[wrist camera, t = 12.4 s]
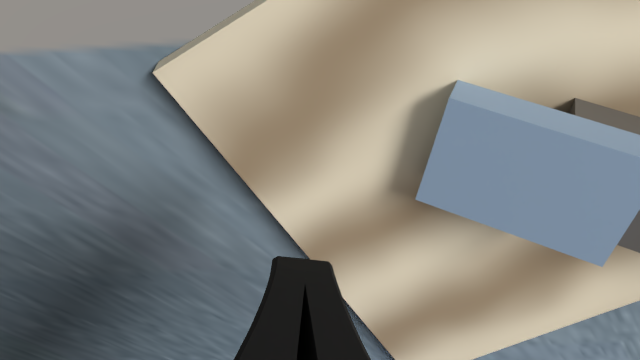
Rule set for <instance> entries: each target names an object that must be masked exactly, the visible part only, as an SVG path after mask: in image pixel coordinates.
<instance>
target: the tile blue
mask: <svg viewBox="0 0 640 360" xmlns="http://www.w3.org/2000/svg"><path fill="white" fill-rule="evenodd" d="M415 200H418V201H421V202H423V203H426V204H429V205H432V206H434V207H437V208H440V209H443V210H446V211H448V212H451V213H454V214H457V215H459V216H462V217H465V218H468V219H470V220H473V221H476V222H479V223H482V224H484V225H487V226H490V227H493V228H495V229H498V230H501V231H504V232H506V233H509V234H512V235H515V236H518V237H520V238H523V239H526V240H529V241H531V242H534V243H537V244H540V245H542V246H545V247H548V248H551V249H554V250H556V251H559V252H562V253H565V254H567V255H570V256H573V257H576V258H578V259H581V260H584V261H587V262H590V263H592V264H595V265H598V266H601V267H603V265H604V264H605V262H606V261H607V259H608V258H609V256H610V255H611V253H612V251H613V250H614V248H615V247H616V245H617V244H618V242H619V241H620V239H621V238H622V236H623V235H624V233H625V231H626V230H627V228H628V227H629V225H630V224H631V222H632V221H633V219H634V218H635V216H636V215H637V213H638V211H639V210H640V135H638V134H635V133H632V132H628V131H625V130H622V129H618V128H615V127H612V126H608V125H605V124H602V123H599V122H595V121H592V120H589V119H585V118H582V117H579V116H575V115H572V114H569V113H566V112H562V111H559V110H556V109H552V108H549V107H546V106H542V105H539V104H536V103H533V102H529V101H526V100H523V99H519V98H516V97H513V96H509V95H506V94H503V93H500V92H496V91H493V90H490V89H486V88H483V87H480V86H477V85H473V84H470V83H467V82H463V81H460V80H458V81H457V83H456V85H455V87H454V89H453V91H452V93H451V95H450V97H449V100H448V103H447V106H446V109H445V112H444V115H443V118H442V121H441V124H440V127H439V130H438V133H437V136H436V139H435V142H434V145H433V148H432V151H431V154H430V157H429V160H428V163H427V166H426V169H425V172H424V175H423V178H422V181H421V184H420V187H419V190H418V193H417V196H416V199H415Z"/></svg>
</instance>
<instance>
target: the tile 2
mask: <svg viewBox="0 0 640 360" xmlns="http://www.w3.org/2000/svg"><path fill="white" fill-rule="evenodd" d="M568 113H569V114H572V115H575V116H579V117H582V118H585V119H589V120H592V121H595V122H599V123H602V124H605V125H608V126H612V127H615V128H618V129H622V130H625V131H628V132H632V133H635V134H638V135H640V117H638V116H635V115H632V114H628V113H625V112H622V111H618V110H615V109H611V108H608V107H605V106H601V105H598V104H594V103H591V102H588V101H584V100H581V99H577V98H575V99H574V101H573V103H572V105H571V108H570V110H569V112H568ZM617 245H618V246H621V247H624V248H627V249H630V250H633V251H636V252H638V253H640V210H639V211H638V213H637V215H636V216H635V218H634V219H633V221H632V222H631V224H630V225H629V227H628V228H627V230H626V231H625V233H624V235H623V236H622V238H621V239H620V241H619V242H618V244H617Z"/></svg>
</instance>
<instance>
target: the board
mask: <svg viewBox="0 0 640 360" xmlns="http://www.w3.org/2000/svg"><path fill="white" fill-rule="evenodd" d="M153 74H154V75H155V76H156V77H157V79H158V80H159V81H160V82H161V83H162V85H163V86H164V87H165V88H166V89H167V90H168V92H169V93H170V94H171V95H172V96H173V98H174V99H175V100H176V101H177V102H178V103H179V105H180V106H181V107H182V108H183V109H184V111H185V112H186V113H187V114H188V115H189V116H190V118H191V119H192V120H193V121H194V122H195V124H196V125H197V126H198V127H199V128H200V129H201V131H202V132H203V133H204V134H205V135H206V137H207V138H208V139H209V140H210V141H211V142H212V144H213V145H214V146H215V147H216V148H217V150H218V151H219V152H220V153H221V154H222V155H223V157H224V158H225V159H226V160H227V161H228V163H229V164H230V165H231V166H232V167H233V168H234V170H235V171H236V172H237V173H238V174H239V176H240V177H241V178H242V179H243V180H244V181H245V183H246V184H247V185H248V186H249V187H250V189H251V190H252V191H253V192H254V193H255V194H256V196H257V197H258V198H259V199H260V200H261V202H262V203H263V204H264V205H265V206H266V207H267V209H268V210H269V211H270V212H271V213H272V215H273V216H274V217H275V218H276V219H277V220H278V222H279V223H280V224H281V225H282V226H283V228H284V229H285V230H286V231H287V232H288V233H289V235H290V236H291V237H292V238H293V239H294V241H295V242H296V243H297V244H298V245H299V246H300V248H301V249H302V250H303V251H304V252H305V254H306V255H307V256H308V257H309V258H310V259H311V260H320V261H329V262H330V264H331V265H332V266H333V270H334V274H335V277H336V280H337V283H338V286H339V289H340V292H341V295H342V297H343V298H344V300H345V301H346V302H347V303H348V304H349V306H350V307H351V308H352V309H353V310H354V311H355V313H356V314H357V315H358V316H359V317H360V319H361V320H362V321H363V322H364V323H365V324H366V326H367V327H368V328H369V329H370V330H371V332H372V333H373V334H374V335H375V336H376V337H377V339H378V340H379V341H380V342H381V343H382V345H383V346H384V347H385V348H386V349H387V350H388V352H389V353H390V354H391V355H392V356H393V358H394V359H395V360H472V359H475V358H477V357H480V356H483V355H486V354H489V353H492V352H494V351H497V350H500V349H503V348H506V347H509V346H511V345H514V344H517V343H520V342H523V341H526V340H528V339H531V338H534V337H537V336H540V335H543V334H545V333H548V332H551V331H554V330H557V329H560V328H562V327H565V326H568V325H571V324H574V323H577V322H579V321H582V320H585V319H588V318H591V317H594V316H596V315H599V314H602V313H605V312H608V311H611V310H613V309H616V308H619V307H622V306H625V305H628V304H630V303H633V302H636V301H639V300H640V253H638V252H636V251H633V250H630V249H627V248H624V247H621V246H618V245H616V247H615V248H614V250H613V251H612V253H611V255H610V256H609V258H608V259H607V261H606V262H605V264H604V265H603V267H601V266H598V265H595V264H592V263H590V262H587V261H584V260H581V259H578V258H576V257H573V256H570V255H567V254H565V253H562V252H559V251H556V250H554V249H551V248H548V247H545V246H542V245H540V244H537V243H534V242H531V241H529V240H526V239H523V238H520V237H518V236H515V235H512V234H509V233H506V232H504V231H501V230H498V229H495V228H493V227H490V226H487V225H484V224H482V223H479V222H476V221H473V220H470V219H468V218H465V217H462V216H459V215H457V214H454V213H451V212H448V211H446V210H443V209H440V208H437V207H434V206H432V205H429V204H426V203H423V202H421V201H418V200H415V199H416V196H417V193H418V190H419V187H420V184H421V181H422V178H423V175H424V172H425V169H426V166H427V163H428V160H429V157H430V154H431V151H432V148H433V145H434V142H435V139H436V136H437V133H438V130H439V127H440V124H441V121H442V118H443V115H444V112H445V109H446V106H447V103H448V100H449V97H450V95H451V93H452V91H453V89H454V87H455V85H456V83H457V81H458V80H460V81H463V82H467V83H470V84H473V85H477V86H480V87H483V88H486V89H490V90H493V91H496V92H500V93H503V94H506V95H509V96H513V97H516V98H519V99H523V100H526V101H529V102H533V103H536V104H539V105H542V106H546V107H549V108H552V109H556V110H559V111H562V112H566V113H568V112H569V110H570V108H571V105H572V103H573V101H574V99H575V98H577V99H581V100H584V101H588V102H591V103H594V104H598V105H601V106H605V107H608V108H611V109H615V110H618V111H622V112H625V113H628V114H632V115H635V116H638V117H640V0H255V1H253V2H252V3H250V4H249V5H247V6H245V7H244V8H242V9H241V10H239V11H238V12H236V13H234V14H233V15H231V16H230V17H228V18H227V19H225V20H223V21H222V22H220V23H219V24H217V25H215V26H214V27H212V28H211V29H209V30H208V31H206V32H204V33H203V34H202V35H200V36H198V37H197V38H195V39H193V40H192V41H190V42H189V43H187V44H186V45H184V46H182V47H181V48H179V49H178V50H176V51H175V52H173V53H171V54H170V55H168V56H167V57H165V58H164V59H162V60H160V61H159V62H158V64H157V66H156V67H155V69H154V71H153Z"/></svg>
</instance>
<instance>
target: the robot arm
mask: <svg viewBox="0 0 640 360" xmlns="http://www.w3.org/2000/svg"><path fill="white" fill-rule="evenodd" d="M234 360H371V359H370V357H369V355H368V353H367V351H366V349H365V347H364V345H363V343H362V341H361V339H360V337H359V335H358V333H357V330H356V328H355V326H354V324H353V322H352V319H351V317H350V315H349V312H348V310H347V307H346V305H345V302H344V300H343V297H342V295H341V292H340V289H339V286H338V283H337V280H336V277H335V274H334V270H333V266H332V265H331V264H330V262H329V261H320V260H310V259H300V258H291V257H281V256H277V257H276V258H274V259H273V260H272V266H271V273H270V278H269V281H268V285H267V288H266V291H265V293H264V296H263V299H262V302H261V304H260V306H259V309H258V311H257V313H256V316H255V318H254V320H253V323H252V325H251V327H250V329H249V331H248V333H247V335H246V337H245V339H244V341H243V343H242V345H241V347H240V349H239V351H238V353H237V355H236V357H235V358H234Z"/></svg>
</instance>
